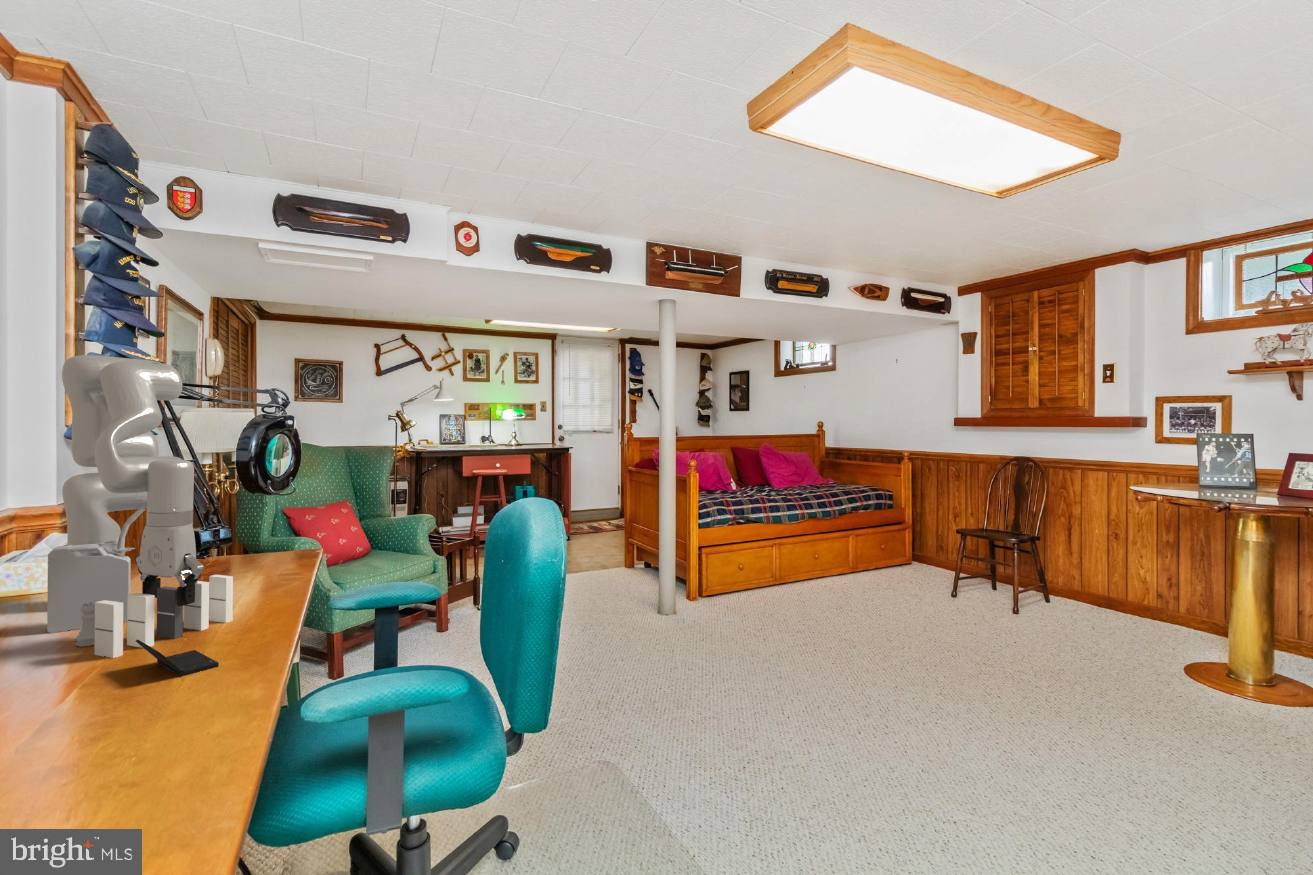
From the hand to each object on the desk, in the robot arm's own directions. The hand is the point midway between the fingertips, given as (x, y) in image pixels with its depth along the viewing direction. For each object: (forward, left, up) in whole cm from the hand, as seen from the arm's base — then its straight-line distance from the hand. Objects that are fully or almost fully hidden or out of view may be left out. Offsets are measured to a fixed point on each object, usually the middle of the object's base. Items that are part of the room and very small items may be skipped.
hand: (168, 601), depth 126 cm
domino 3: (+1, 0, -7) cm, 7 cm away
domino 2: (+4, -4, -7) cm, 9 cm away
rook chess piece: (-4, -12, -7) cm, 14 cm away
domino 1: (+6, -9, -7) cm, 13 cm away
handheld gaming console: (+22, 0, -8) cm, 23 cm away
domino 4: (-2, +5, -7) cm, 9 cm away
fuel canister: (-18, -11, -7) cm, 23 cm away
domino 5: (-5, +10, -7) cm, 13 cm away
